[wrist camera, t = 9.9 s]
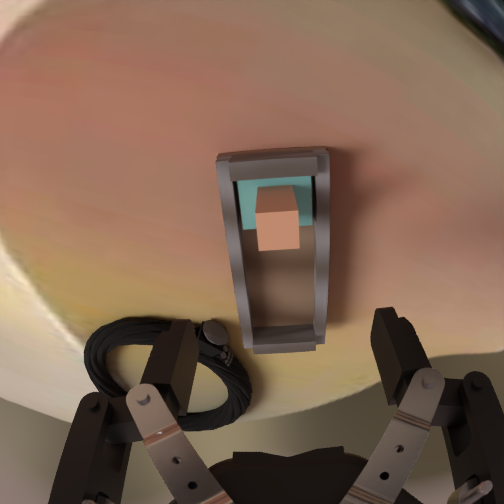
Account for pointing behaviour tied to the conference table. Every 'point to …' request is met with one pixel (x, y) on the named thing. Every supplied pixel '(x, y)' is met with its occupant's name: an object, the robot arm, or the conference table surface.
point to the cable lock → (210, 355)
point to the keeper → (276, 209)
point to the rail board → (279, 254)
